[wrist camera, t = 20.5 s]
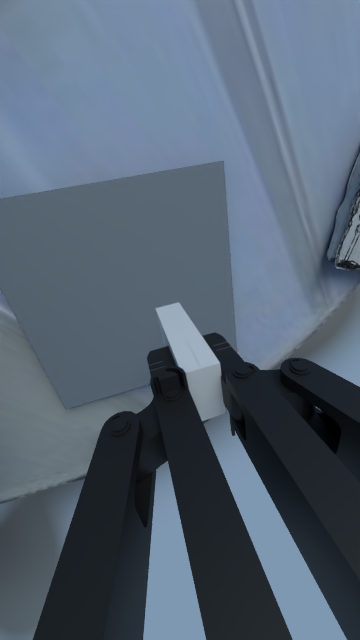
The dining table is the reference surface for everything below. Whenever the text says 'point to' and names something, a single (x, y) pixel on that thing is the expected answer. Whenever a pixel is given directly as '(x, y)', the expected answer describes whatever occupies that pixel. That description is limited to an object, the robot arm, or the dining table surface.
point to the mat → (116, 273)
